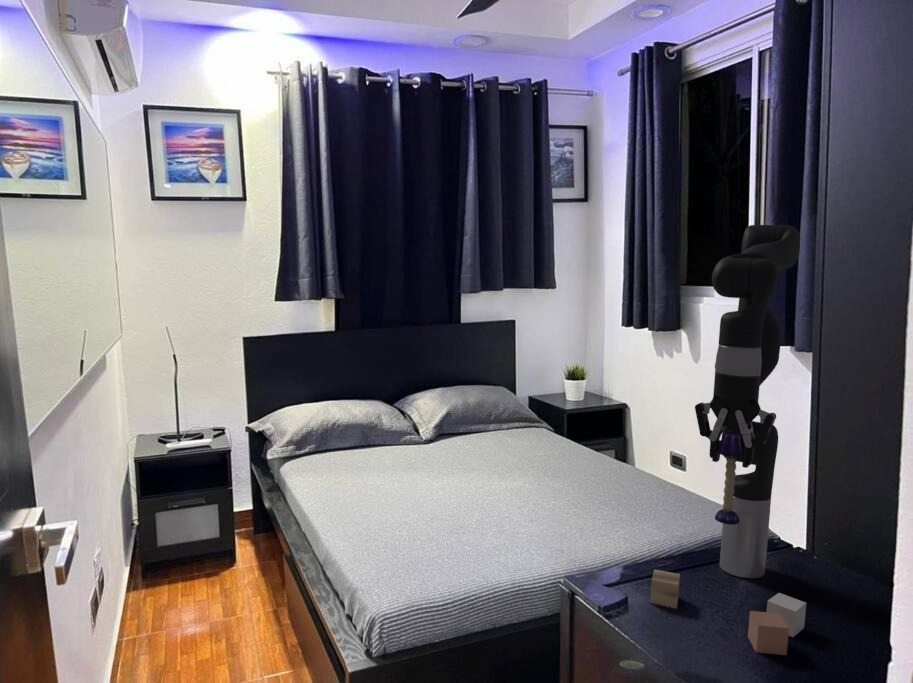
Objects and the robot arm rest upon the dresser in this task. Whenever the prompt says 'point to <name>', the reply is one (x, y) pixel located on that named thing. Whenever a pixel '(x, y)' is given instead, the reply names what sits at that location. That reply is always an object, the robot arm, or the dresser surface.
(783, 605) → the off-white block
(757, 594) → the dresser surface
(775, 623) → the terracotta block
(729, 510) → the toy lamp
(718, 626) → the dresser surface
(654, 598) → the oak block
